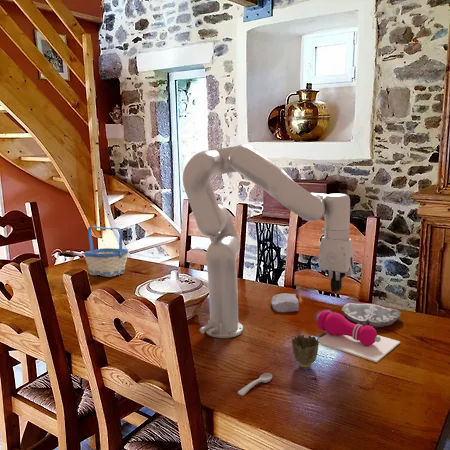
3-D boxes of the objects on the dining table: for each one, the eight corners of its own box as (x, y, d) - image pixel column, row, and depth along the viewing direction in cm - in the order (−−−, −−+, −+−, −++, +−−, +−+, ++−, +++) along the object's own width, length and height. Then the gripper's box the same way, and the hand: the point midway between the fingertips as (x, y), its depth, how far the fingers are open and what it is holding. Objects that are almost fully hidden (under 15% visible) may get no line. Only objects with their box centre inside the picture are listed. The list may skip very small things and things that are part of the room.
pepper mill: (317, 334, 147) (375, 356, 133) (315, 316, 144) (374, 336, 131) (329, 322, 151) (386, 343, 138) (327, 304, 149) (385, 323, 135)
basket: (134, 272, 222) (131, 225, 217) (110, 282, 208) (106, 232, 203) (104, 267, 232) (100, 222, 228) (79, 276, 218) (74, 228, 214)
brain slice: (337, 325, 154) (337, 317, 153) (345, 308, 169) (345, 300, 168) (398, 334, 146) (399, 326, 145) (402, 315, 161) (402, 307, 160)
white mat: (376, 362, 128) (376, 360, 128) (315, 342, 141) (315, 340, 141) (400, 343, 139) (400, 341, 139) (341, 326, 153) (341, 324, 153)
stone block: (275, 317, 167) (301, 311, 166) (272, 305, 166) (298, 299, 166) (271, 306, 179) (296, 301, 178) (269, 295, 178) (294, 289, 177)
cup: (320, 362, 129) (320, 336, 127) (316, 375, 122) (317, 347, 120) (294, 358, 131) (294, 333, 130) (289, 371, 124) (289, 344, 123)
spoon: (275, 379, 121) (274, 373, 120) (244, 400, 113) (243, 393, 113) (266, 375, 123) (266, 369, 123) (235, 396, 115) (235, 389, 115)
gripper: (309, 233, 142) (309, 289, 145) (353, 239, 131) (351, 299, 135) (322, 229, 147) (321, 283, 150) (365, 234, 137) (363, 292, 140)
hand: (336, 290), depth 143 cm, fingers closed
